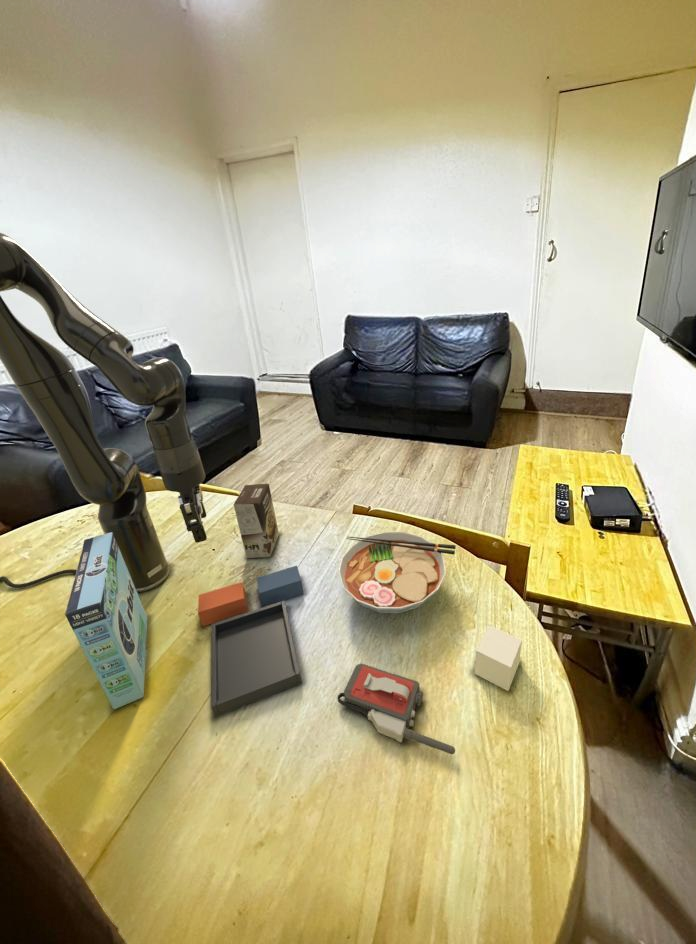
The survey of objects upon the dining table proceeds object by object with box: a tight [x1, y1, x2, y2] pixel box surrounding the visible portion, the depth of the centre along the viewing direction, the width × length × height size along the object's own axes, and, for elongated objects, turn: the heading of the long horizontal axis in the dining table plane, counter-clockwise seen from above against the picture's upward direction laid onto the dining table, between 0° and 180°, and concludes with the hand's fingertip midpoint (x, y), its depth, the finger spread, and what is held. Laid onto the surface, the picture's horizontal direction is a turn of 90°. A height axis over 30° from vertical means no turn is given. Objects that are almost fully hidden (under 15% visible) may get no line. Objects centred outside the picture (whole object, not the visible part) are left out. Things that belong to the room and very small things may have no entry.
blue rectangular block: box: [256, 565, 305, 608], centre depth 91 cm, size 9×5×4 cm, turn 111°
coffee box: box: [233, 483, 280, 559], centre depth 103 cm, size 9×6×16 cm
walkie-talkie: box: [337, 662, 456, 755], centre depth 66 cm, size 9×4×20 cm
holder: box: [210, 600, 303, 718], centre depth 77 cm, size 15×18×3 cm
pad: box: [197, 581, 249, 627], centre depth 87 cm, size 9×5×4 cm, turn 111°
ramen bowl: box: [337, 531, 457, 614], centre depth 89 cm, size 25×23×8 cm
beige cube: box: [474, 624, 523, 692], centre depth 72 cm, size 6×6×6 cm
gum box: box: [64, 532, 148, 711], centre depth 74 cm, size 20×5×23 cm, turn 26°
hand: (201, 528), depth 87 cm, fingers open, 8 cm apart
